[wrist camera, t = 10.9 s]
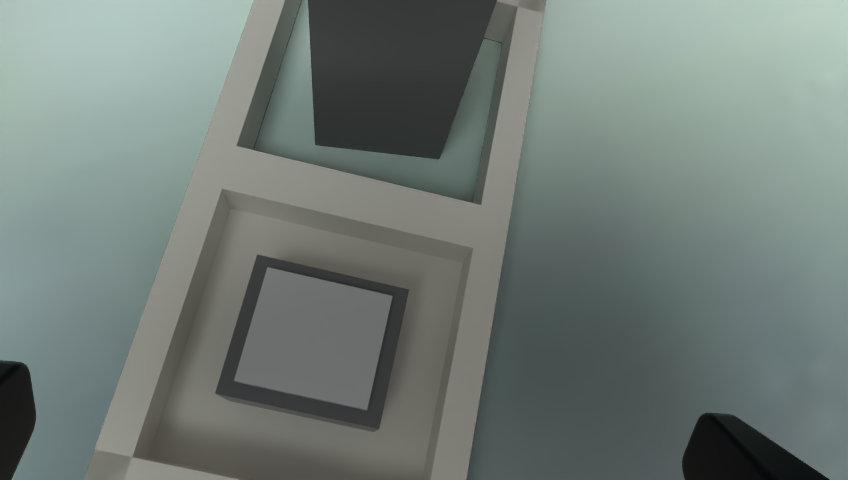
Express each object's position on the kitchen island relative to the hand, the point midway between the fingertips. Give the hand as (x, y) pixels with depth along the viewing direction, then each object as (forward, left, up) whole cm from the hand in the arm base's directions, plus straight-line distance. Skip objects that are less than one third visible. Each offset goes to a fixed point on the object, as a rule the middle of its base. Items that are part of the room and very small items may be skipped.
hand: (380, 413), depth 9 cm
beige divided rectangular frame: (+5, +5, -12) cm, 14 cm away
